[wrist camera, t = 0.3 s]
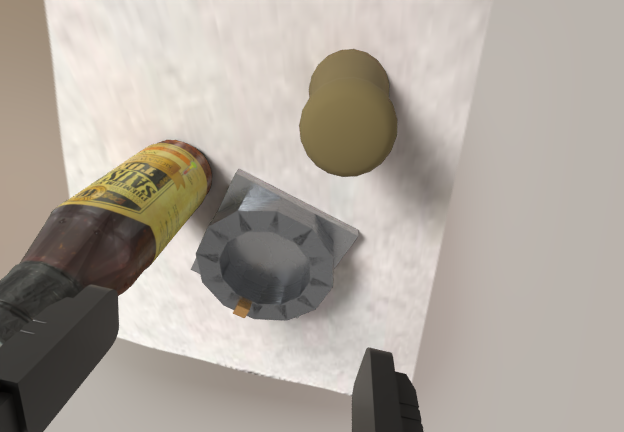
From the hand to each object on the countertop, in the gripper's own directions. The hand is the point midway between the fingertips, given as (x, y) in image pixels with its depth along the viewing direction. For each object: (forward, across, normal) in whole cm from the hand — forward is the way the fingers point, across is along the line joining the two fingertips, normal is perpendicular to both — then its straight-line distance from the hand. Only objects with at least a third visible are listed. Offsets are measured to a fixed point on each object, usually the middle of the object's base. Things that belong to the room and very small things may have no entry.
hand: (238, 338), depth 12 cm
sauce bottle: (+21, +11, +4) cm, 24 cm away
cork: (+21, -2, -6) cm, 22 cm away
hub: (+22, +2, +10) cm, 24 cm away
